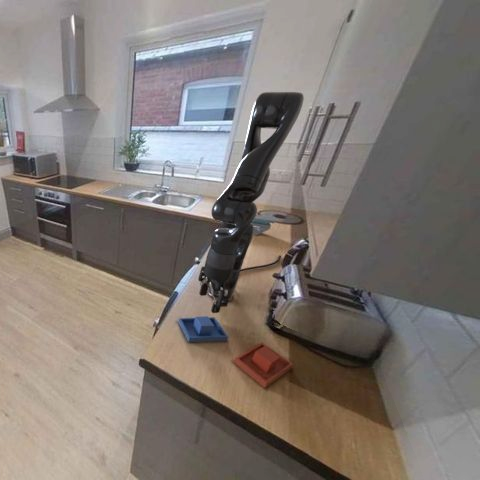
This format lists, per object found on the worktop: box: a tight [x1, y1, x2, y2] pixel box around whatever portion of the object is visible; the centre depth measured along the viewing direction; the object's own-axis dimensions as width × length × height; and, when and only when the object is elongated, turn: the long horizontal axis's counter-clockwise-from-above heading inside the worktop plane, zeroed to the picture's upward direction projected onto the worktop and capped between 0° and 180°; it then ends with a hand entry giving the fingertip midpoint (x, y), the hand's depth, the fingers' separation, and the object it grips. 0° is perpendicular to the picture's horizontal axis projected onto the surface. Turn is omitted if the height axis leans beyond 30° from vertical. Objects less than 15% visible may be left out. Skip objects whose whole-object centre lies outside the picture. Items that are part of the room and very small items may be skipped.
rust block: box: [251, 346, 280, 374], centre depth 76 cm, size 4×4×4 cm
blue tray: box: [177, 316, 229, 343], centre depth 89 cm, size 13×9×2 cm
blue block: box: [193, 315, 214, 336], centre depth 88 cm, size 4×4×4 cm
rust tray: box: [233, 342, 294, 389], centre depth 77 cm, size 13×9×2 cm
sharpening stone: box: [251, 214, 276, 236], centre depth 164 cm, size 25×8×11 cm, turn 64°
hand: (208, 303), depth 85 cm, fingers open, 8 cm apart
